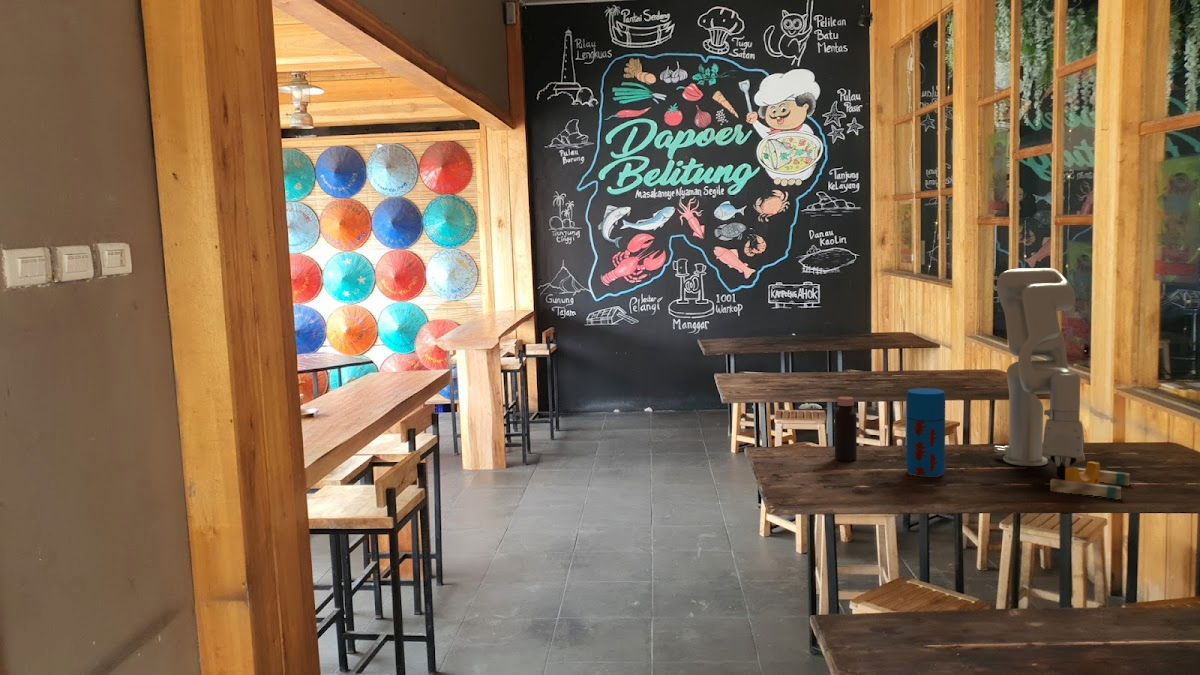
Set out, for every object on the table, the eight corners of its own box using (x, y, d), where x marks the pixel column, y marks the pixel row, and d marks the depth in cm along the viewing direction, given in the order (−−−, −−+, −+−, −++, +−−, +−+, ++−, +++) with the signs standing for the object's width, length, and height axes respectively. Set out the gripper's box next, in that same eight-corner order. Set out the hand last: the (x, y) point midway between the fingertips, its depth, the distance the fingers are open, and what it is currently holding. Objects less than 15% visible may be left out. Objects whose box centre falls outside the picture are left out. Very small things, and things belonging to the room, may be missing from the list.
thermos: (917, 466, 291) (917, 387, 288) (950, 472, 283) (951, 390, 281) (900, 474, 283) (900, 392, 281) (934, 479, 276) (934, 395, 273)
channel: (1050, 491, 261) (1050, 480, 260) (1063, 476, 275) (1063, 465, 275) (1119, 499, 251) (1120, 488, 250) (1129, 483, 265) (1129, 473, 265)
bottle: (839, 455, 308) (839, 395, 306) (859, 458, 304) (859, 397, 302) (831, 460, 303) (831, 398, 300) (852, 462, 299) (851, 400, 296)
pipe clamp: (1084, 482, 269) (1085, 460, 268) (1099, 485, 265) (1099, 462, 265) (1059, 489, 263) (1059, 466, 262) (1073, 492, 259) (1074, 469, 258)
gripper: (1032, 415, 266) (1031, 479, 268) (1091, 420, 257) (1090, 486, 259) (1038, 411, 272) (1037, 473, 274) (1096, 415, 263) (1094, 480, 265)
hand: (1063, 479), depth 267 cm, fingers closed
